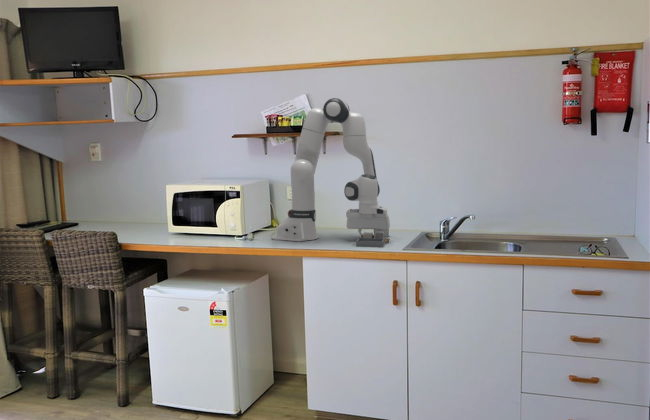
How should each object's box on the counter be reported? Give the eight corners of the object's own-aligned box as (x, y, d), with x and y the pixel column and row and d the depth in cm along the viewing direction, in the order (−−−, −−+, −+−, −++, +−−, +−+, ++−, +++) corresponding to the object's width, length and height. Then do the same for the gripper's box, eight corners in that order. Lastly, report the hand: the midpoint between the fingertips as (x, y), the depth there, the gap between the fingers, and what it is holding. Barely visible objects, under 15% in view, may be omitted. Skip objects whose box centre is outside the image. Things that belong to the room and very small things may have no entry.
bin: (356, 247, 280) (356, 240, 280) (359, 244, 289) (359, 237, 289) (382, 248, 278) (382, 241, 278) (384, 245, 287) (384, 238, 286)
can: (387, 238, 304) (388, 214, 303) (372, 238, 305) (372, 214, 304) (389, 236, 311) (389, 212, 310) (374, 235, 313) (374, 212, 311)
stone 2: (374, 241, 295) (374, 232, 294) (375, 239, 298) (375, 231, 298) (383, 241, 294) (383, 232, 293) (384, 239, 298) (384, 231, 297)
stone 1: (363, 242, 292) (363, 233, 291) (364, 240, 295) (364, 232, 295) (371, 242, 291) (371, 233, 290) (372, 240, 295) (372, 232, 294)
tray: (357, 243, 291) (357, 241, 291) (360, 239, 301) (360, 237, 301) (387, 244, 288) (387, 242, 288) (389, 240, 299) (389, 238, 298)
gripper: (345, 209, 290) (345, 238, 292) (389, 210, 286) (388, 240, 288) (347, 208, 296) (347, 236, 298) (390, 209, 292) (389, 238, 294)
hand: (367, 238), depth 293 cm, fingers closed on stone 1, 4 cm apart
